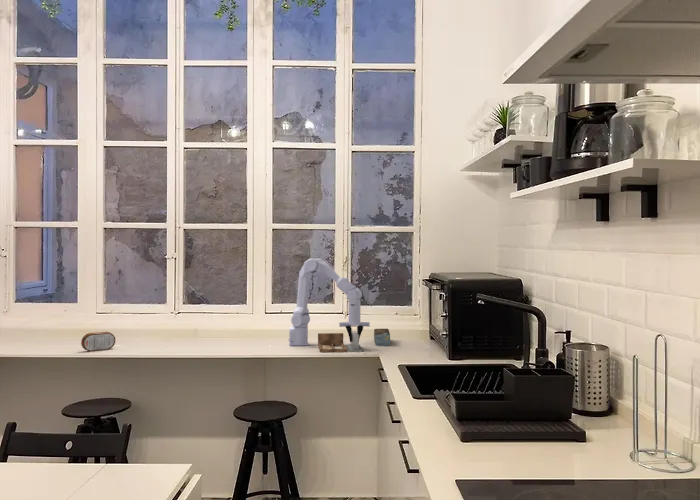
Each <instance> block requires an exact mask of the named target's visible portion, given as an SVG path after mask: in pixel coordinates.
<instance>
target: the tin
mask: <svg viewBox="0 0 700 500" xmlns="http://www.w3.org/2000/svg"><path fill="white" fill-rule="evenodd" d="M80 345H81V347H82V348H83V349H84V350H85V351H87V352H99V351H107V350H108V351H109V350H111V349H112V348H113V347H114V346H115V345H116V337H115V335H114V334H113V333H112V332H110V331H99V332H98V331H97V332H89V333H86V334H85V335H84V336H83V337H82V339H81V342H80Z"/></svg>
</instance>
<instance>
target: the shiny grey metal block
mask: <svg viewBox="0 0 700 500" xmlns="http://www.w3.org/2000/svg"><path fill="white" fill-rule="evenodd" d="M351 336H352V342H350V341H349V342H350V343H349V344H350V346H351V348H352V349H353V350H355V349H359V345H360V344H359V343H360V338H359V334H358V333H357V331H354V330H353V331H352V333H351Z"/></svg>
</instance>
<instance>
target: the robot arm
mask: <svg viewBox="0 0 700 500" xmlns="http://www.w3.org/2000/svg"><path fill="white" fill-rule="evenodd" d="M317 272H319V273H324V274H325V275H326V276H328V277H329V278H330V279H331V280H333V281H334V282H335V283H336V287H337V288H338V289H339V290H340V291H341V292H342V293H344V295H346V297H347V300H348V321H344V322H341V321H339V322H338V324H339V326H338V327H339V328H342V327H343V328H344V327H345V329H346V331H347V334H348V338H349V342H352V336H351V333H352V330H353V327H356V330H357V331H356V332H357V333H358V334H359V339H360V338H361V335H362V332H363V331H364V327H371V326H370V324H371V323H370V321H361V299H362V297H363V291H362V290H361V288H359V287H357V286H356V285H355V284H353V283H352V282H351V281H349V278H347V277H346V278H345V277H341V276H340V275H339V274H338V272H336V271H335V270H334V269H333V268H332V267H331V266H330V265H329V264H328V263H327V262H326V261H324V260H323V259H322V258H320V257H316V258H308V259H307V260H305V261H304V262H303V265H302V267H301V268H300V269H299V273H298V283H297V284H298V287H297V295H296V296H297V297H296V307H295V309H294V311H293V314H292V316H291V319H290V322H291V324H292V326H289V328H288V332H289V338H288V343H289V346H290V347H291V346H296V347H297V346H309V345H310V343H309V341H308V339H309V337H308V336H309V327H308V324H309V323H310V321H311V317H310V310H309V309H308V304H309V303H308V301H309V291H310V281H311V276H313V275H314V274H315V273H317Z"/></svg>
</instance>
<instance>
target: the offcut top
mask: <svg viewBox="0 0 700 500" xmlns="http://www.w3.org/2000/svg"><path fill="white" fill-rule="evenodd" d="M322 348H323V349H332V347H331V346H330V345H322Z"/></svg>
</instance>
